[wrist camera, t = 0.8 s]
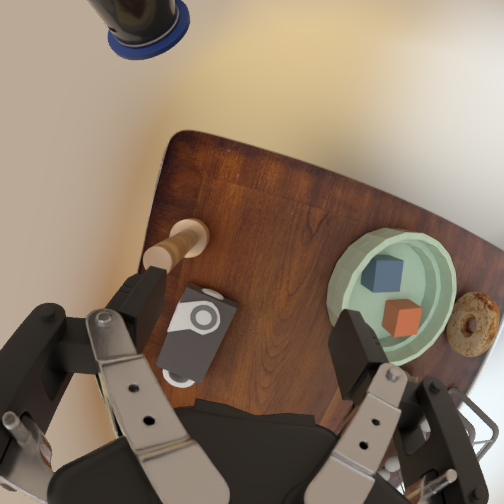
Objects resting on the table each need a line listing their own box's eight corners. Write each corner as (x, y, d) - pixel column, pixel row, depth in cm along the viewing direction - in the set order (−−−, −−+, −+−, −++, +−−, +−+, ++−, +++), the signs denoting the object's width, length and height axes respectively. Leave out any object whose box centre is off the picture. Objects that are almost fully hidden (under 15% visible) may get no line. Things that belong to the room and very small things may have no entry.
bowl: (330, 224, 36) (349, 229, 29) (436, 230, 37) (464, 236, 30) (318, 350, 39) (331, 374, 32) (419, 339, 40) (440, 357, 33)
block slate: (363, 254, 36) (376, 260, 32) (388, 254, 36) (403, 260, 32) (360, 284, 37) (372, 292, 33) (385, 283, 37) (399, 291, 33)
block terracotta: (385, 300, 37) (399, 309, 33) (408, 298, 37) (422, 307, 33) (381, 326, 38) (393, 337, 34) (403, 323, 38) (416, 334, 34)
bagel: (457, 283, 38) (497, 301, 29) (469, 287, 39) (508, 303, 29) (436, 341, 40) (470, 368, 30) (449, 342, 40) (483, 367, 31)
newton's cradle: (373, 481, 46) (397, 533, 29) (338, 481, 45) (360, 541, 28) (453, 383, 42) (504, 430, 25) (423, 376, 41) (478, 433, 24)
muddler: (174, 217, 35) (127, 230, 19) (210, 217, 35) (187, 230, 19) (174, 253, 36) (130, 290, 20) (209, 253, 36) (188, 293, 20)
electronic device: (196, 385, 39) (238, 299, 37) (194, 397, 36) (238, 307, 34) (153, 368, 38) (189, 278, 36) (148, 379, 35) (185, 284, 33)
